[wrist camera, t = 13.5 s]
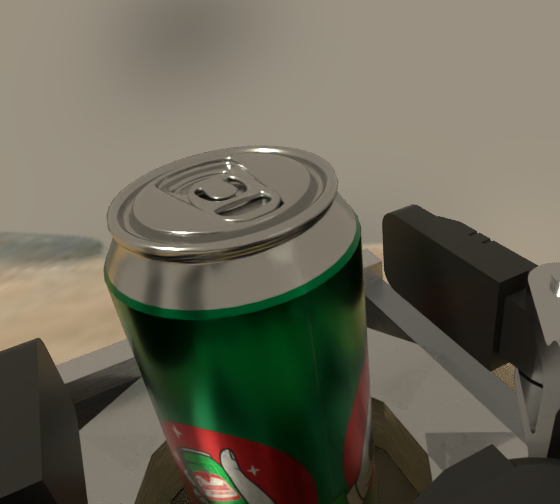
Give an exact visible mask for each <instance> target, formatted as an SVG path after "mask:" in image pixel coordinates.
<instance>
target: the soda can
mask: <svg viewBox="0 0 560 504" xmlns="http://www.w3.org/2000/svg"><path fill="white" fill-rule="evenodd" d="M337 189H338V179H337V176H336V173H335V171H334V169H333V167H332V166H331V165H330V164H329V163H328V162H327V161H326V160H324V159H323V158H321V157H319V156H317V155H315V154H313V153H310V152H307V151H304V150H300V149H295V148H289V147H280V146H247V147H234V148H227V149H220V150H215V151H210V152H205V153H201V154H197V155H193V156H190V157H186V158H183V159H180V160H177V161H174V162H172V163H169V164H166V165H164V166H162V167H159V168H157V169H155V170H153V171H150V172H149V173H147V174H145V175H143V176H141V177H140V178H138V179H136V180H135V181H133V182H132V183H130V184H129V185H128V186H127V187H125V188H124V189H123V190H122V191H121V192H119V194H118V195H117V196H116V197H115V198H114V199H113V201H112V203H111V204H110V206H109V208H108V212H107V225H108V229H109V231H110V233H111V235H112V236H113V238H112V241H111V244H110V248H109V250H108V253H107V256H106V260H105V265H104V278H105V282H106V285H107V288H108V290H109V293H110V295H111V298H112V301H113V303H114V306H115V308H116V311H117V314H118V316H119V319H120V321H121V324H122V327H123V329H124V332H125V334H126V337H127V340H128V342H129V345H130V347H131V350H132V353H133V355H134V358H135V360H136V363H137V366H138V368H139V371H140V373H141V376H142V378H143V381H144V384H145V386H146V389H147V391H148V394H149V397H150V399H151V402H152V404H153V407H154V410H155V412H156V415H157V417H158V420H159V423H160V425H161V428H162V430H163V433H164V436H165V438H166V441H167V443H168V446H169V449H170V451H171V454H172V456H173V459H174V462H175V464H176V467H177V469H178V472H179V475H180V477H181V480H182V482H183V485H184V488H185V490H186V493H187V495H188V498H189V501H190V503H191V504H377V491H376V474H375V457H374V440H373V424H372V407H371V390H370V373H369V356H368V339H367V322H366V305H365V288H364V271H363V254H362V237H361V225H360V222H359V219H358V216H357V215H356V213H355V212H354V210H353V209H352V208H351V206H350V205H349V204H348V203H347V202H346V200H345V199H344V198H343V197H342V196H341V195H340V194H339V193H338V191H337Z"/></svg>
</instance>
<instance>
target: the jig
mask: <svg viewBox="0 0 560 504" xmlns="http://www.w3.org/2000/svg"><path fill="white" fill-rule="evenodd" d="M362 254H363V271H364V288H365V305H366V322H367V339H368V356H369V373H370V390H371V407H372V424H373V440H374V445H375V446H377V447H379V448H381V449H383V450H386V451H387V453H388V454H389V455H390V457H391V458H392V459H393V460H394V462H395V463H396V464H397V466H398V467H399V468H400V470H401V471H402V472H403V474H404V475H405V476H406V477H407V479H408V480H409V481H410V483H411V484H412V485H413V487H414V488H415V489H416V491H417V492H418V493H419V494H421V493H422V492H423V491H424V490H425V489H426V488H427V487H428V486H429V485H430V484H431V483H432V482H433V481H434V480H435V479H436V478H437V477H438V476H439V475H440V474H441V473H442V472H443V470H445V469H447V468H449V467H450V466H452V465H454V464H456V463H458V462H460V461H461V460H463V459H465V458H467V457H469V456H471V455H472V454H474V453H476V452H478V451H480V450H482V449H483V448H485V447H487V446H489V445H491V444H493V445H494V446H495V447H496V448H497V449H498V450H499V451H500V452H501V453H502V454H503V455H504V456H505V457H506V458H507V459H512V458H522V457H528V448H527V442H526V437H525V432H524V427H523V422H522V417H521V412H520V407H519V402H518V397H517V393H516V392H515V391H514V390H513V389H511V388H510V387H509V386H508V385H507V384H505V383H504V382H503V381H502V380H501V379H500V378H498V377H497V376H496V375H495V374H494V373H492V372H490V371H489V370H487V369H486V368H485V367H484V366H483V365H481V364H480V363H479V362H478V361H477V360H476V359H474V358H473V357H472V356H471V355H470V354H468V353H467V352H466V351H465V350H464V349H463V348H461V347H460V346H459V345H458V344H457V343H455V342H454V341H453V340H452V339H451V338H450V337H448V336H447V335H446V334H445V333H444V332H442V331H441V330H440V329H439V328H438V327H437V326H435V325H434V324H433V323H432V322H431V321H429V320H428V319H427V318H426V317H425V316H424V315H422V314H421V313H420V312H419V311H418V310H416V309H415V308H414V307H413V306H412V305H411V304H409V303H408V302H407V301H406V300H405V299H403V298H402V297H401V296H400V295H399V294H398V293H396V292H395V291H394V290H393V288H392V287H391V286H389V285H388V284H387V283H386V282H385V281H383V272H382V260H380V259H379V258H378V257H377V256H375V255H374V254H373V253H371V252H370V251H369V250H368V249H365V250H362ZM56 368H57V370H58V372H59V374H60V376H61V378H62V380H63V382H64V384H65V386H66V387H67V389H68V392H69V394H70V396H71V399H72V401H73V404H74V407H75V411H76V415H77V420H78V427H79V435H80V443H81V451H82V459H83V467H84V475H85V483H86V491H87V499H88V504H171V501H172V500H173V498H174V497H175V496H176V495H177V494H178V493H179V492H180V490H181V489H182V488H183V487H184V485H183V482H182V480H181V477H180V475H179V472H178V469H177V467H176V464H175V462H174V459H173V456H172V454H171V451H170V449H169V446H168V443H167V441H166V438H165V436H164V433H163V430H162V428H161V425H160V423H159V420H158V417H157V415H156V412H155V410H154V407H153V404H152V402H151V399H150V397H149V394H148V391H147V389H146V386H145V384H144V381H143V378H142V376H141V373H140V371H139V368H138V366H137V363H136V360H135V358H134V355H133V353H132V350H131V347H130V345H129V342H128V340H127V339H126V340H123V341H120V342H118V343H115V344H112V345H110V346H107V347H104V348H102V349H99V350H96V351H94V352H91V353H88V354H86V355H83V356H80V357H78V358H75V359H73V360H70V361H67V362H65V363H62V364H59V365H57V366H56Z"/></svg>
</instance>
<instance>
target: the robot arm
mask: <svg viewBox="0 0 560 504" xmlns="http://www.w3.org/2000/svg"><path fill="white" fill-rule="evenodd" d="M382 229H383V255H384V271H385V275H386V278H387V280H388V282H389V284H390V286H391V287H392V288H393V290H394V291H395V292H396V293H398V294H399V295H400V296H401V297H402V298H403V299H405V300H406V301H407V302H408V303H409V304H411V305H412V306H413V307H414V308H415V309H416V310H418V311H419V312H420V313H421V314H422V315H424V316H425V317H426V318H427V319H428V320H429V321H431V322H432V323H433V324H434V325H435V326H437V327H438V328H439V329H440V330H441V331H442V332H444V333H445V334H446V335H447V336H448V337H450V338H451V339H452V340H453V341H454V342H455V343H457V344H458V345H459V346H460V347H461V348H463V349H464V350H465V351H466V352H467V353H468V354H470V355H471V356H472V357H473V358H474V359H476V360H477V361H478V362H479V363H480V364H481V365H483V366H484V367H485V368H486V369H487V370H489V371H490V372H491V371H493V370H495V369H497V368H499V367H501V366H503V365H505V364H507V363H509V362H510V363H511V364H512V365H514V366H515V372H514V381H515V386H516V391H517V397H518V402H519V407H520V412H521V417H522V422H523V427H524V432H525V437H526V442H527V448H528V457H522V458H512V459H507V458H506V457H505V456H504V455H503V454H502V453H501V452H500V451H499V450H498V449H497V448H496V447H495V446H494V445H493V444H491V445H489V446H487V447H485V448H483V449H482V450H480V451H478V452H476V453H474V454H472V455H471V456H469V457H467V458H465V459H463V460H461V461H460V462H458V463H456V464H454V465H452V466H450V467H449V468H447V469H445V470H443V472H442V473H441V474H440V475H439V476H438V477H437V478H436V479H435V480H434V481H433V482H432V483H431V484H430V485H429V486H428V487H427V488H426V489H425V490H424V491H423V492H422V493H421V494H420V495H419V496H418V497H417V498H416V499H415V500H414V501H413V502H412V503H411V504H560V263H548V264H543V265H540V266H538V265H536V264H534V263H532V262H531V261H529V260H527V259H525V258H523V257H522V256H520V255H518V254H516V253H515V252H513V251H511V250H509V249H508V248H506V247H504V246H502V245H500V244H499V243H497V242H495V241H491V240H490V238H488V237H486V236H484V235H483V234H481V233H477V231H476V230H474V229H472V228H470V227H468V226H467V225H465V224H463V223H461V222H459V221H455V220H451V219H447V218H444V217H440V216H438V217H437V216H435V215H433V214H432V213H430V212H428V211H426V210H425V209H423V208H421V207H419V206H418V205H410V206H407V207H404V208H402V209H399V210H396V211H393V212H390V213H388V214H386V215H385V216H384V218H383V222H382ZM0 504H88V499H87V491H86V483H85V475H84V467H83V459H82V451H81V443H80V435H79V427H78V420H77V415H76V411H75V407H74V404H73V401H72V399H71V396H70V394H69V392H68V389H67V387H66V386H65V384H64V382H63V380H62V378H61V376H60V374H59V372H58V370H57V368H56V366H55V364H54V362H53V360H52V358H51V356H50V354H49V352H48V350H47V348H46V346H45V345H44V343H43V341H42V340H41V339H40V338H36V339H34V340H31V341H28V342H25V343H22V344H20V345H17V346H14V347H11V348H9V349H6V350H3V351H0Z"/></svg>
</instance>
